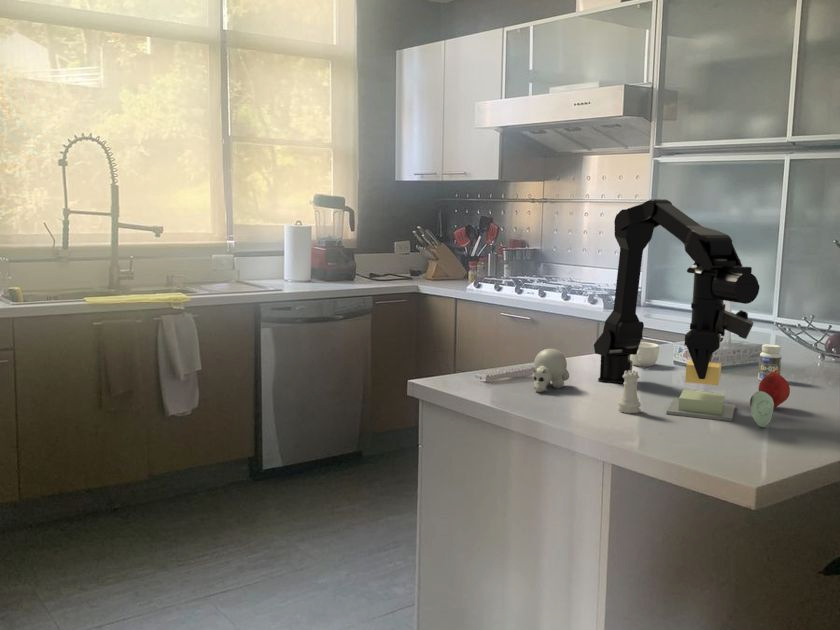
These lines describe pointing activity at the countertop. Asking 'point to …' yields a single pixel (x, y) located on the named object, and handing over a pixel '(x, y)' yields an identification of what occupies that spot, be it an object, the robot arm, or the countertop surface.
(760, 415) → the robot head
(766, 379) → the onion
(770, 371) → the pill bottle
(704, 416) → the baseplate
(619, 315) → the robot arm
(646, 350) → the teacup
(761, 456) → the countertop surface
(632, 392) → the rook chess piece
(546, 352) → the cream plastic animal figure
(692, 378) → the ochre brick
